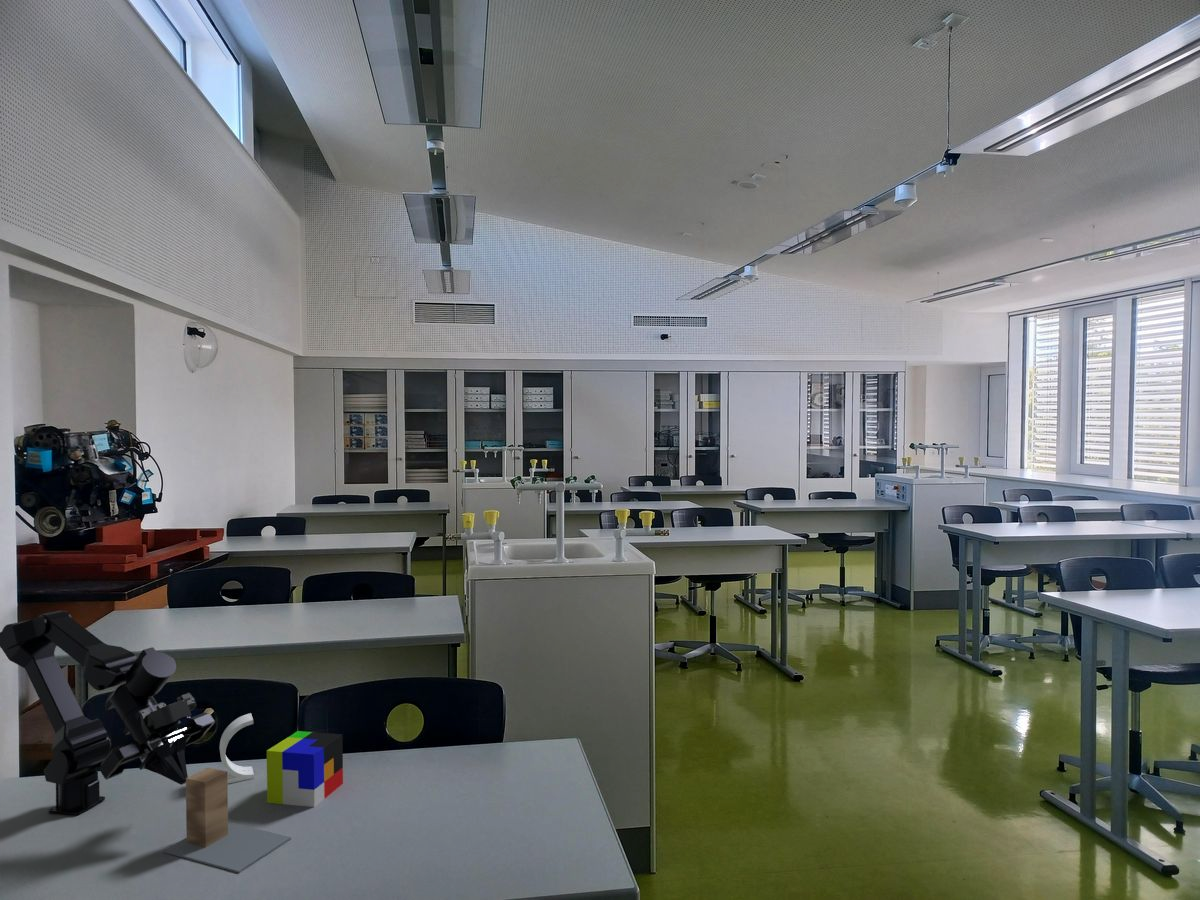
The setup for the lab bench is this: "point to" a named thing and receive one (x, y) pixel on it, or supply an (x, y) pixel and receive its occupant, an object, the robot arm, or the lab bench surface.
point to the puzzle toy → (304, 768)
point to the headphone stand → (233, 771)
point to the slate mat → (231, 848)
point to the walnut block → (206, 807)
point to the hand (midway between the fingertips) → (185, 782)
